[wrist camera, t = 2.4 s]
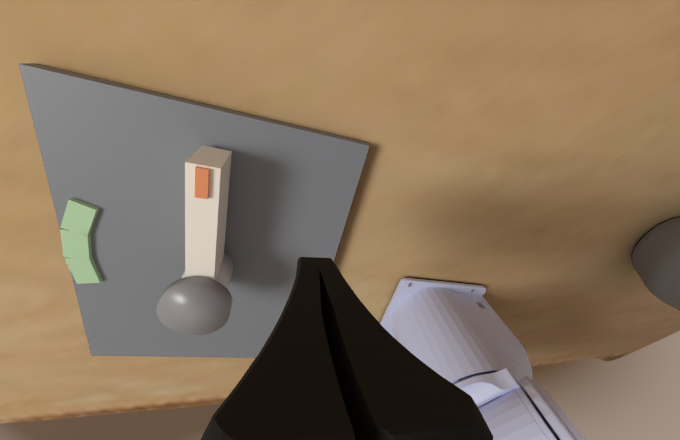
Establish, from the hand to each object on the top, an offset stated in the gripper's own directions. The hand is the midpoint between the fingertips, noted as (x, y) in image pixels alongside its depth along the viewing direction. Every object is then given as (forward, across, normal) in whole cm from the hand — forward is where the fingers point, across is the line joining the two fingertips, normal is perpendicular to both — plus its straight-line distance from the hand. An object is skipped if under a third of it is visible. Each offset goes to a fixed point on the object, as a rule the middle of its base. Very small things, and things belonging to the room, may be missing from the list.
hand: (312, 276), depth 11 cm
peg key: (+8, +6, +3) cm, 11 cm away
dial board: (+10, +6, +6) cm, 13 cm away
